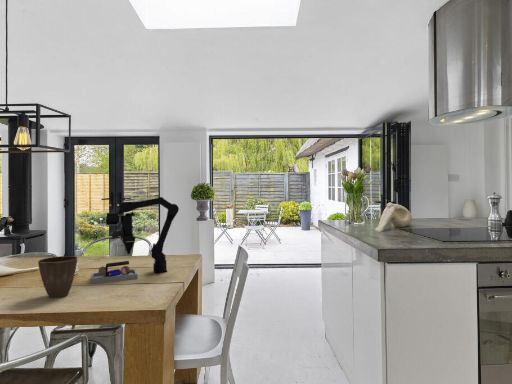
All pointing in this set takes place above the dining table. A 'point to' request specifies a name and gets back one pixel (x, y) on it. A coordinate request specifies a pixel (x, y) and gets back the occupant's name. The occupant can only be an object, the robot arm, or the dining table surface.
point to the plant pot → (57, 274)
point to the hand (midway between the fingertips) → (127, 252)
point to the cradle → (113, 277)
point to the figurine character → (123, 271)
